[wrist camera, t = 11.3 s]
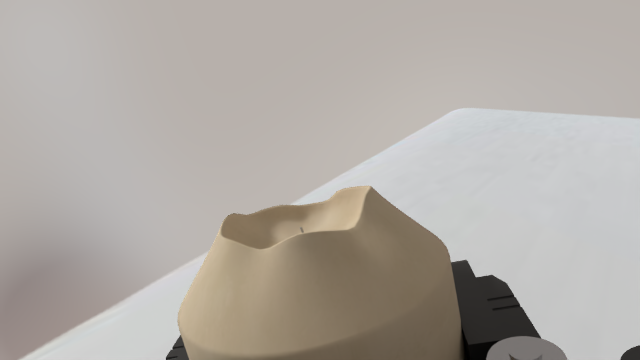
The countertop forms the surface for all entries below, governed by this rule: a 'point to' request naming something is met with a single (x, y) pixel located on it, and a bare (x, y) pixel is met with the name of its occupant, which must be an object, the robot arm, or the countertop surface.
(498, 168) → the countertop surface
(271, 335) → the candle
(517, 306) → the robot arm
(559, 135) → the countertop surface
